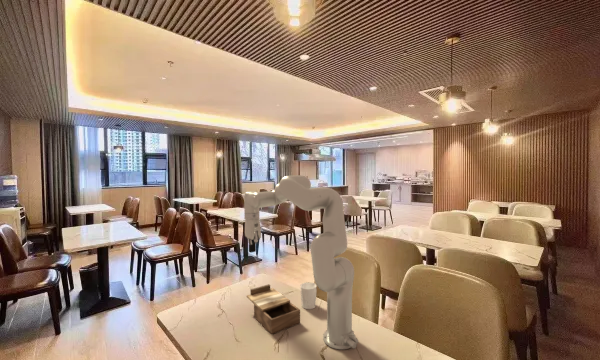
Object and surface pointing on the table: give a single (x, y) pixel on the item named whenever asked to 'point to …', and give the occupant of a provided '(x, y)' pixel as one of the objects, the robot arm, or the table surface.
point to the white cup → (308, 295)
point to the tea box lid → (266, 297)
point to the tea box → (278, 317)
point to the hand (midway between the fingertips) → (252, 251)
